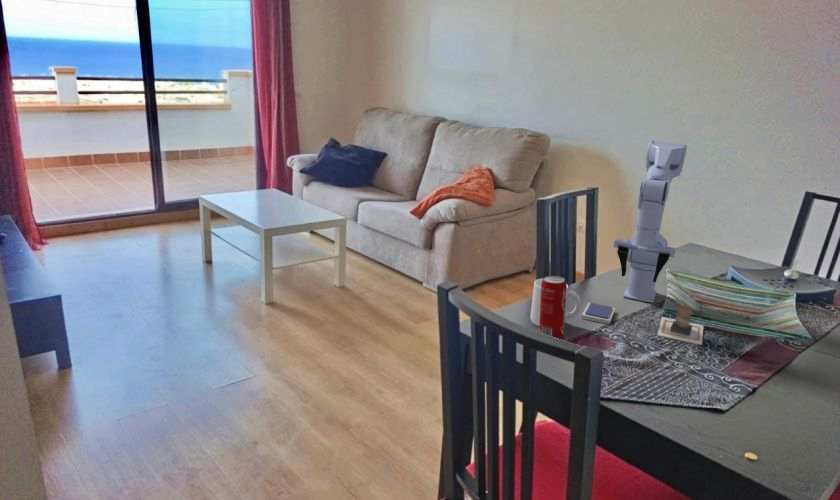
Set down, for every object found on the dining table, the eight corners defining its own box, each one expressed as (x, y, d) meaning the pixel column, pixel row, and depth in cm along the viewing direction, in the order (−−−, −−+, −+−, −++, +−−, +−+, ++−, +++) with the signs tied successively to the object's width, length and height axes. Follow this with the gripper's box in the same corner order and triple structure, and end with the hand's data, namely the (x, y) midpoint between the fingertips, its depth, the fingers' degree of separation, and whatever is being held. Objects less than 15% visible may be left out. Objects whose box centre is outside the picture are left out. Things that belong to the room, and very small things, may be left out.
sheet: (661, 317, 158) (661, 316, 158) (703, 326, 154) (703, 325, 154) (657, 335, 148) (657, 334, 148) (701, 345, 144) (702, 343, 144)
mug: (576, 318, 156) (581, 280, 152) (580, 332, 148) (586, 293, 145) (528, 314, 157) (533, 276, 153) (531, 327, 149) (535, 289, 146)
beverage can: (563, 345, 141) (571, 285, 136) (534, 341, 142) (541, 281, 137) (562, 334, 146) (570, 276, 142) (535, 330, 147) (542, 273, 143)
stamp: (673, 325, 154) (677, 302, 152) (691, 329, 151) (696, 306, 150) (670, 331, 150) (674, 308, 148) (689, 336, 148) (693, 312, 146)
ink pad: (588, 306, 163) (588, 301, 163) (614, 311, 161) (615, 306, 160) (581, 318, 156) (582, 313, 155) (609, 324, 153) (610, 319, 152)
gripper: (615, 226, 151) (607, 277, 155) (677, 235, 145) (667, 288, 149) (619, 220, 157) (611, 269, 161) (679, 229, 151) (669, 279, 156)
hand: (638, 278), depth 156 cm, fingers open, 7 cm apart
